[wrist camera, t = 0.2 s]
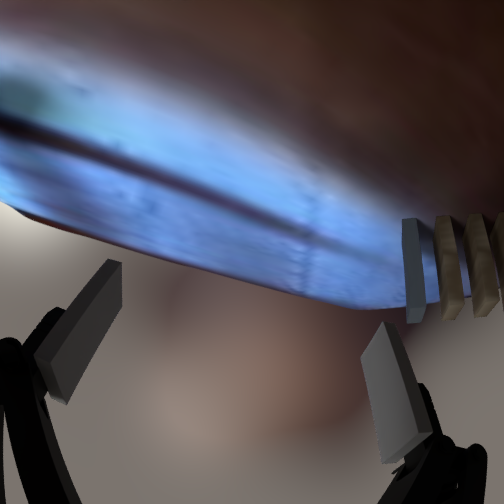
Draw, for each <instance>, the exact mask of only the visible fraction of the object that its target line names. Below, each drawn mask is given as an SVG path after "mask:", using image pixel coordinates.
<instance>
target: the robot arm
mask: <svg viewBox="0 0 504 504" xmlns="http://www.w3.org/2000/svg"><path fill="white" fill-rule="evenodd" d="M121 308H122V262H119V261H115V260H111V259H107V260H106V261H105V263H104V264H103V265H102V266H101V267H100V268H99V270H98V271H97V272H96V273H95V275H94V276H93V277H92V278H91V279H90V281H89V282H88V283H87V284H86V285H85V287H84V288H83V289H82V290H81V292H80V293H79V294H78V295H77V297H76V298H75V299H74V301H73V302H72V303H71V304H70V306H69V307H68V308H67V310H64V309H62V308H59V307H56V308H54V309H52V310H51V311H49V312H48V313H47V314H46V315H45V316H44V317H43V319H42V320H41V322H40V323H39V324H38V325H37V326H36V329H34V330H33V332H32V333H31V334H30V335H29V337H28V338H27V339H26V341H25V342H24V343H23V345H21V343H20V342H19V341H18V340H17V339H14V338H12V337H8V338H7V337H6V338H3V339H1V340H0V504H6V499H5V489H4V471H3V425H4V412H5V417H6V423H7V428H8V432H9V438H10V442H11V446H12V450H13V454H14V458H15V462H16V466H17V468H18V473H19V476H20V479H21V482H22V485H23V488H24V492H25V494H26V497H27V500H28V503H29V504H82V503H81V501H80V498H79V496H78V494H77V492H76V489H75V487H74V485H73V482H72V480H71V477H70V475H69V472H68V470H67V467H66V465H65V462H64V459H63V457H62V454H61V451H60V448H59V445H58V442H57V439H56V436H55V433H54V429H53V426H52V423H51V419H50V416H49V412H48V409H47V405H46V401H45V399H44V396H45V395H46V393H47V391H48V392H49V394H50V397H51V398H52V399H54V400H56V401H58V402H61V403H63V404H65V405H67V404H68V402H69V400H70V397H71V396H72V394H73V392H74V390H75V388H76V386H77V384H78V383H79V381H80V379H81V377H82V375H83V373H84V372H85V370H86V368H87V366H88V364H89V362H90V360H91V359H92V357H93V355H94V353H95V352H96V350H97V348H98V346H99V345H100V343H101V341H102V339H103V338H104V336H105V334H106V333H107V331H108V329H109V327H110V326H111V324H112V322H113V321H114V319H115V317H116V316H117V314H118V312H119V311H120V309H121ZM361 362H362V366H363V371H364V375H365V380H366V384H367V389H368V393H369V398H370V403H371V408H372V412H373V418H374V423H375V428H376V433H377V438H378V444H379V450H380V455H381V462H382V464H384V463H385V464H387V463H396V462H398V461H399V460H400V459H402V458H403V457H404V460H405V463H404V464H402V465H401V466H400V467H398V468H397V469H396V470H394V471H393V472H392V474H395V473H396V472H397V474H396V476H395V477H394V479H393V480H392V482H391V484H390V485H389V487H388V488H387V490H386V491H385V493H384V494H383V496H382V497H381V499H380V500H379V502H378V504H484V496H485V487H486V476H487V452H486V450H485V449H484V447H483V446H481V445H480V444H476V443H475V444H472V445H471V446H470V447H468V448H467V449H465V448H461V447H457V446H455V444H454V442H453V440H452V439H451V438H450V437H448V436H446V435H443V433H442V430H441V427H440V423H439V420H438V417H437V414H436V411H435V409H434V405H433V402H432V399H431V396H430V394H429V391H428V390H427V389H426V387H425V386H424V384H423V383H417V380H416V377H415V375H414V372H413V369H412V366H411V363H410V361H409V358H408V355H407V353H406V350H405V347H404V345H403V342H402V340H401V337H400V335H399V332H398V330H397V327H396V325H395V323H389V322H384V321H383V322H382V324H381V325H380V327H379V329H378V330H377V332H376V334H375V335H374V337H373V339H372V340H371V342H370V343H369V345H368V347H367V348H366V350H365V351H364V353H363V355H362V356H361ZM457 484H458V487H457Z"/></svg>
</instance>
